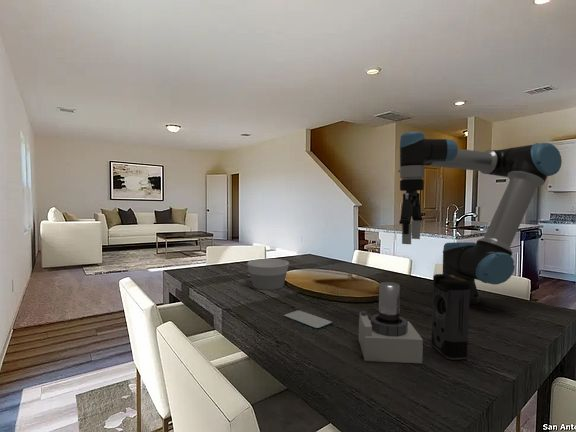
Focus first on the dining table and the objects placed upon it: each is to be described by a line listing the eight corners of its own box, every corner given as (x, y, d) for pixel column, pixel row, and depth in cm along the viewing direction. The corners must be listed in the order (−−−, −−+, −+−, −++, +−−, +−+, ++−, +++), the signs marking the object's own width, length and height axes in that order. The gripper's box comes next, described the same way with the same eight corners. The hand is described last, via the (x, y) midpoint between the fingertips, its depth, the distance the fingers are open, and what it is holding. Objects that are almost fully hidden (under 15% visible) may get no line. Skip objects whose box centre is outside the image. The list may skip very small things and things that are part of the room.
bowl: (296, 284, 156) (297, 261, 155) (273, 294, 140) (273, 268, 139) (263, 278, 166) (263, 257, 165) (238, 287, 150) (238, 263, 149)
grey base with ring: (408, 342, 94) (409, 310, 94) (422, 363, 82) (423, 327, 82) (358, 340, 95) (359, 308, 95) (364, 360, 83) (365, 325, 83)
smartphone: (282, 317, 114) (317, 331, 102) (282, 315, 114) (317, 328, 102) (299, 312, 119) (333, 324, 108) (299, 309, 119) (333, 322, 107)
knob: (382, 323, 92) (383, 281, 91) (401, 327, 89) (402, 283, 88) (375, 330, 88) (376, 285, 87) (395, 334, 85) (396, 288, 84)
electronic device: (428, 344, 93) (431, 273, 92) (449, 343, 93) (451, 273, 92) (447, 360, 84) (450, 282, 82) (470, 360, 84) (473, 282, 83)
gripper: (408, 180, 125) (408, 236, 126) (390, 178, 104) (390, 245, 105) (430, 179, 121) (429, 237, 122) (415, 177, 100) (414, 247, 101)
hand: (411, 241), depth 114 cm, fingers open, 13 cm apart
